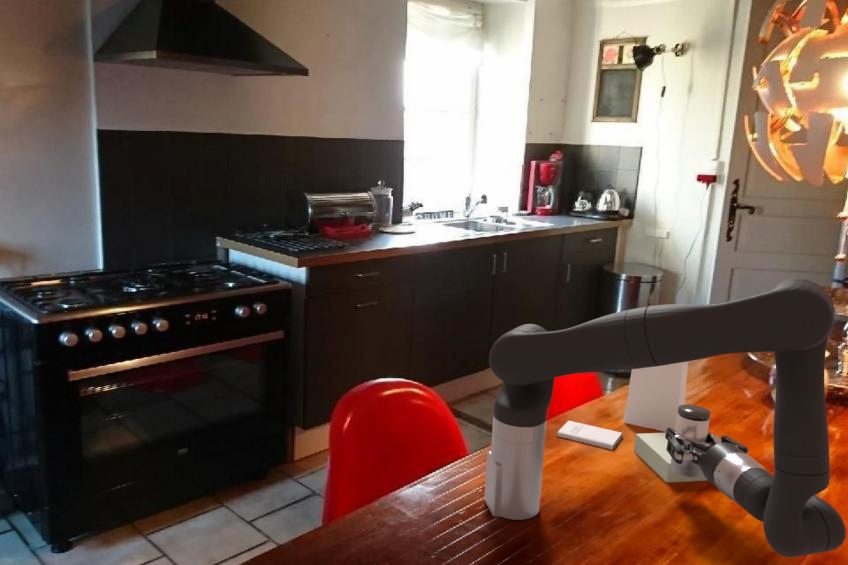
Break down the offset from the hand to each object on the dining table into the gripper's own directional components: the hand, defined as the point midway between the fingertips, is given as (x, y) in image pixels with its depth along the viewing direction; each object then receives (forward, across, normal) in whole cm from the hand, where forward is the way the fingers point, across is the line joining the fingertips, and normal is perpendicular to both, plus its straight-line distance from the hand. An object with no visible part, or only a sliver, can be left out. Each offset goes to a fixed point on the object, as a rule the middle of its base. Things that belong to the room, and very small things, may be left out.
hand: (683, 432), depth 135 cm
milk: (+32, -12, +12) cm, 37 cm away
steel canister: (-3, 0, +6) cm, 7 cm away
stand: (+9, -6, +12) cm, 16 cm away
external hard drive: (+24, +7, +12) cm, 28 cm away
